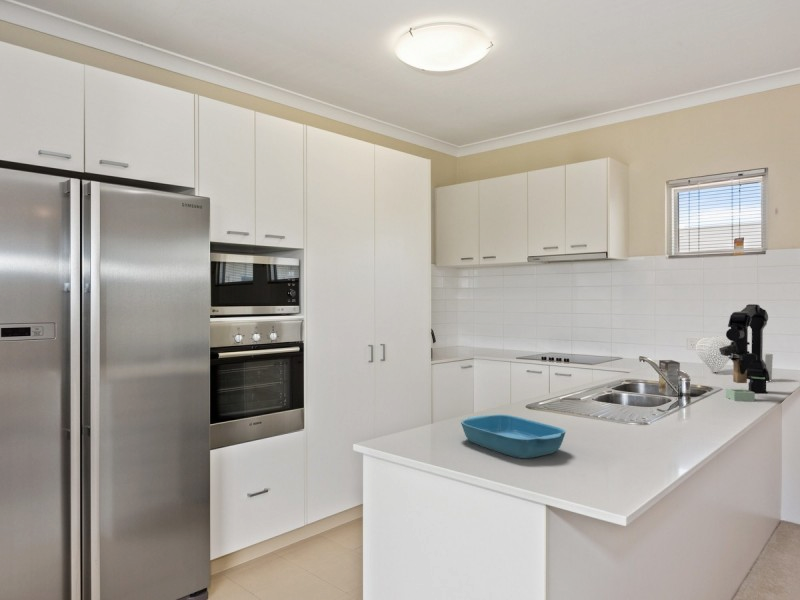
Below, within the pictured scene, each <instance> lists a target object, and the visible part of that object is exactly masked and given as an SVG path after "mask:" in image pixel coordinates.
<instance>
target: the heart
mask: <svg viewBox="0 0 800 600" xmlns="http://www.w3.org/2000/svg"><path fill="white" fill-rule="evenodd" d="M728 345H731V340H729V339H728V338H727V337H726V335H725V336H724V335H720V336H714V337H712V336H710V337H709V336H708V337H707V336H706V337H703V338H701V339H699V340H698V341H697V342H696V345H695V352H696V354H697V356H698V357H699V359H701V360H702V362H703V363H704V364H705V365H706V367H707V368H709V370H710V371H711V372H712V373H713V372H718V373H720V372H721V371H722V369H723V368H724V367H725V365H727V364H728V362H729V361H731V359H730V358H728V357H730V356H724V355H721V352H720V350H719V348H722V347H725V346H728Z"/></svg>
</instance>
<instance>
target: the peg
mask: <svg viewBox="0 0 800 600" xmlns="http://www.w3.org/2000/svg"><path fill="white" fill-rule="evenodd" d="M732 364H733V365H732V366H733V368H732V369H733V374H732V375H733V379H732V380H733V383H737V384H747V383H748V382H747V381H748V379H747V370H746V371H745V373H744V374H741V371H740V364H739V362H738V361H737V360H733V361H732Z"/></svg>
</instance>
